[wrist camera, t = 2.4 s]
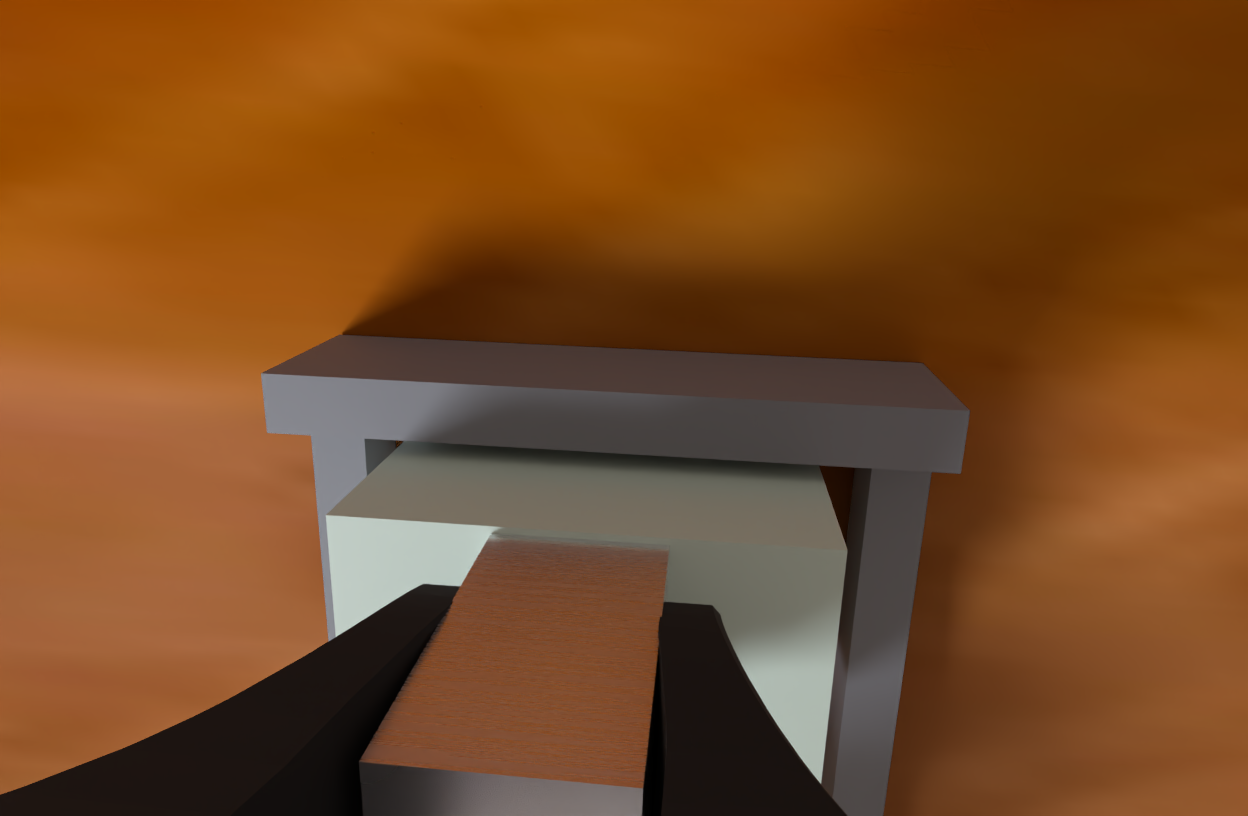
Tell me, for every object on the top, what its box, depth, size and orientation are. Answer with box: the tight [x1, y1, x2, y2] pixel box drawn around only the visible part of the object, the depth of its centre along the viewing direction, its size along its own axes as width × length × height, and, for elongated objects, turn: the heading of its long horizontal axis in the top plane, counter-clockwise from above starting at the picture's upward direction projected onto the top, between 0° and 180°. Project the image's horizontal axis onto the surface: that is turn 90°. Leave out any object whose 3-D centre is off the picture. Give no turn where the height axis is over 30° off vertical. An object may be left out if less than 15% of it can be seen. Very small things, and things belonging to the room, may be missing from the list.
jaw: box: [326, 441, 848, 816], centre depth 12 cm, size 7×5×10 cm
